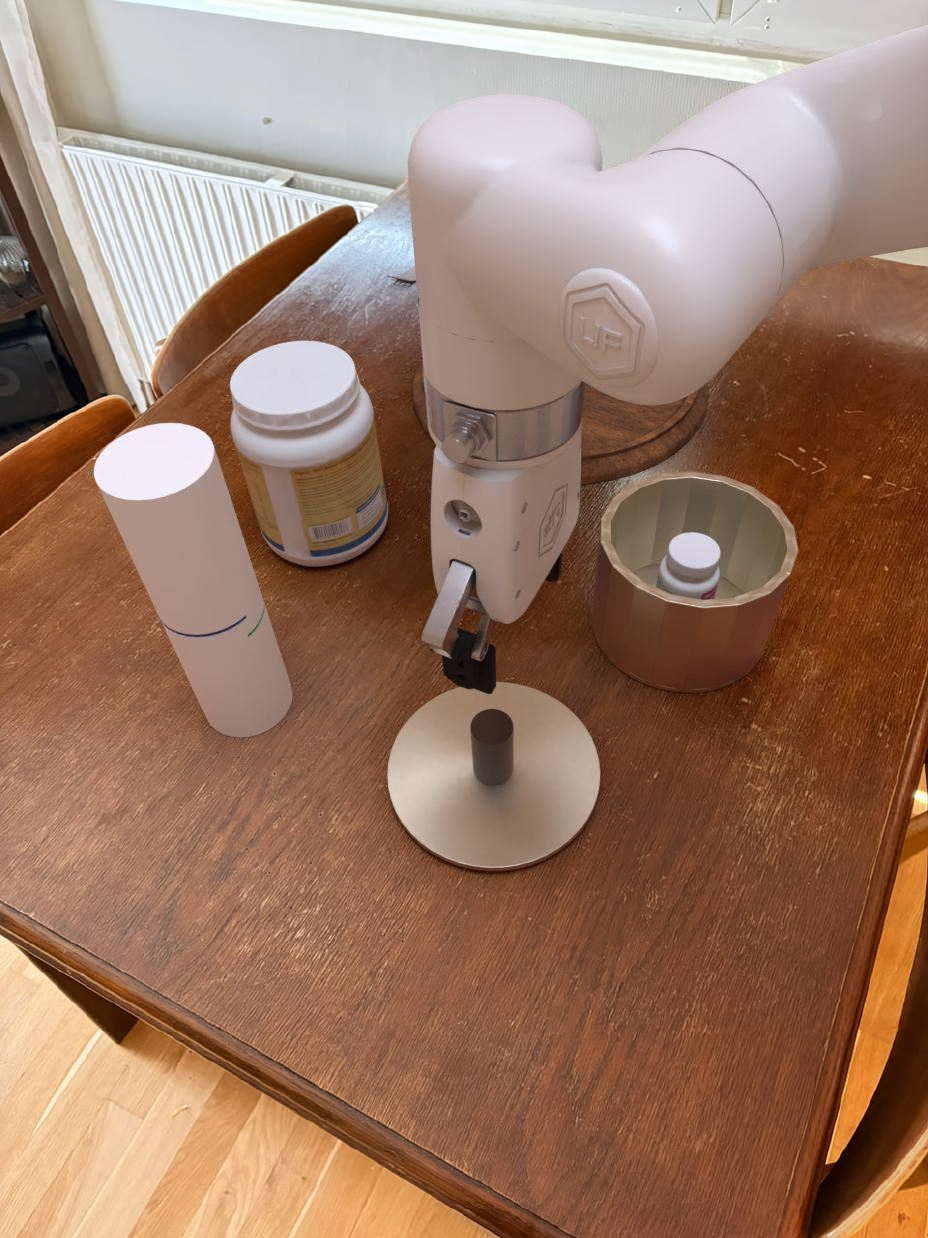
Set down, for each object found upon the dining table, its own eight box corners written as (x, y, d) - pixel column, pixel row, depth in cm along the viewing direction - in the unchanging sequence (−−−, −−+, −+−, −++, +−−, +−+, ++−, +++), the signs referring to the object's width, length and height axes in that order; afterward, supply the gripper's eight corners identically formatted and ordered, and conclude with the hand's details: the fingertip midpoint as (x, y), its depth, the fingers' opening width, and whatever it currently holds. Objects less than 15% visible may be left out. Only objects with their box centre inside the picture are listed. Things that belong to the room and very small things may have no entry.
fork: (457, 235, 122) (456, 220, 120) (405, 293, 112) (404, 278, 111) (440, 232, 122) (439, 217, 121) (387, 289, 113) (385, 275, 112)
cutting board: (637, 524, 84) (640, 504, 82) (356, 428, 95) (353, 408, 93) (748, 350, 101) (752, 330, 100) (499, 286, 113) (499, 267, 111)
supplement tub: (403, 490, 88) (385, 339, 76) (370, 580, 81) (343, 428, 68) (287, 477, 90) (249, 328, 78) (243, 563, 83) (194, 413, 70)
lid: (629, 732, 69) (638, 680, 64) (550, 912, 60) (553, 869, 55) (447, 665, 74) (442, 612, 69) (349, 822, 65) (335, 775, 60)
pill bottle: (701, 647, 74) (719, 578, 67) (644, 633, 75) (657, 564, 68) (712, 606, 77) (730, 535, 70) (657, 593, 78) (670, 522, 71)
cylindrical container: (187, 699, 73) (72, 460, 54) (260, 651, 76) (175, 408, 57) (236, 753, 69) (130, 518, 50) (310, 700, 72) (237, 459, 53)
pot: (785, 590, 78) (816, 500, 70) (740, 719, 70) (769, 633, 62) (625, 542, 83) (637, 452, 75) (565, 657, 74) (571, 570, 66)
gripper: (498, 535, 36) (500, 756, 50) (641, 320, 46) (611, 552, 59) (342, 485, 39) (383, 708, 52) (508, 290, 49) (508, 519, 62)
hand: (504, 625), depth 56 cm, fingers open, 9 cm apart
